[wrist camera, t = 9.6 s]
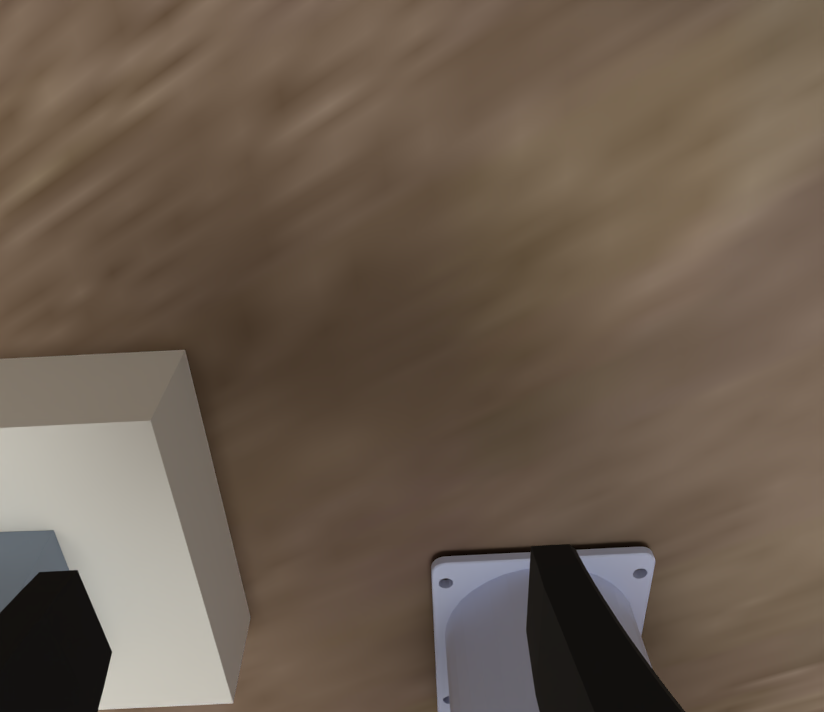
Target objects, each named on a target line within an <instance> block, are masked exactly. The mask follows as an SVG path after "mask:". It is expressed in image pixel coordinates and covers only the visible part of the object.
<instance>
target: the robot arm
mask: <svg viewBox="0 0 824 712" xmlns="http://www.w3.org/2000/svg"><path fill="white" fill-rule="evenodd" d="M654 566H655V557H654V555H653V552H652V551H651V550H650V549H649V548H647V547H620V548H600V549H581V550H576V549H575V548H573V547H572V546H571V545H570V544H567V545H548V546H531V552H521V553H501V554H481V555H461V556H444V557H439V558H437V559H435V560H434V561H433V563H432V565H431V576H432V598H433V620H434V641H435V663H436V685H437V706H438V712H685V711H684V710H683V709H682V707H681V706H680V705H679V704H678V702H677V701H676V700H675V698H674V697H673V696H672V695H671V693H670V692H669V691H668V689H667V688H666V687H665V685H664V684H663V683H662V681H661V680H660V679H659V677H658V676H657V675H656V673H655V672H654V671H653V669H652V666H651V663H650V660H649V657H648V655H647V652H646V649H645V646H644V643H643V640H642V637H641V636H642V630H643V625H644V620H645V614H646V609H647V604H648V598H649V593H650V588H651V582H652V577H653V572H654ZM637 569H639V570H637ZM445 578H448V579H447V580H443V579H445ZM111 655H112V650H111V648H110V646H109V643H108V641H107V638H106V636H105V634H104V631H103V629H102V627H101V624H100V622H99V620H98V617H97V615H96V612H95V610H94V608H93V605H92V603H91V601H90V598H89V596H88V594H87V591H86V589H85V587H84V584H83V582H82V579H81V577H80V575H79V572H78V570H69V571H49V572H39V573H38V574H37V575H36V576H35V577H34V578H33V579H32V580H31V581H30V582H29V583H28V584H27V585H26V586H25V587H24V588H23V589H22V590H21V591H20V592H19V593H18V594H17V595H16V596H15V598H14V599H13V600H12V601H11V602H10V603H9V604H8V605H7V606H6V607H5V608H4V609H3V610H2V611H1V612H0V712H98V708H99V704H100V700H101V696H102V693H103V689H104V685H105V680H106V676H107V672H108V668H109V663H110V659H111Z"/></svg>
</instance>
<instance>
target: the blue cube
mask: <svg viewBox="0 0 824 712" xmlns="http://www.w3.org/2000/svg"><path fill="white" fill-rule="evenodd" d="M49 571H69V568H68V566H67V563H66V560H65V558H64V555H63V553H62V550H61V548H60V545H59V543H58V540H57V537H56V535H55V532H54V530H47V531H15V532H0V612H1V611H2V610H3V609H4V608H5V607H6V606H7V605H8V604H9V603H10V602H11V601H12V600H13V599H14V598H15V596H16V595H17V594H18V593H19V592H20V591H21V590H22V589H23V588H24V587H25V586H26V585H27V584H28V583H29V582H30V581H31V580H32V579H33V578H34V577H35V576H36V575H37V574H38V573H39V572H49Z"/></svg>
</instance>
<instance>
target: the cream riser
mask: <svg viewBox="0 0 824 712" xmlns="http://www.w3.org/2000/svg"><path fill="white" fill-rule="evenodd" d="M47 530H54V532H55V535H56V537H57V540H58V543H59V545H60V548H61V550H62V553H63V555H64V558H65V560H66V563H67V566H68V568H69V570H78V572H79V575H80V577H81V579H82V582H83V584H84V587H85V589H86V591H87V594H88V596H89V598H90V601H91V603H92V605H93V608H94V610H95V612H96V615H97V617H98V620H99V622H100V624H101V627H102V629H103V631H104V634H105V636H106V638H107V641H108V643H109V646H110V648H111V650H112V655H111V659H110V663H109V668H108V672H107V676H106V680H105V685H104V689H103V693H102V696H101V700H100V704H99V708H98V710H103V709H124V708H145V707H166V706H187V705H207V704H228V703H233V701H234V697H235V692H236V687H237V682H238V677H239V672H240V667H241V662H242V657H243V652H244V648H245V643H246V638H247V633H248V628H249V623H250V618H251V617H250V613H249V609H248V604H247V600H246V596H245V592H244V588H243V584H242V580H241V576H240V572H239V568H238V564H237V560H236V555H235V551H234V547H233V543H232V539H231V535H230V531H229V527H228V523H227V519H226V515H225V511H224V507H223V502H222V498H221V494H220V490H219V486H218V482H217V478H216V474H215V470H214V466H213V462H212V458H211V453H210V449H209V445H208V441H207V437H206V433H205V429H204V425H203V421H202V417H201V413H200V409H199V404H198V400H197V396H196V392H195V388H194V384H193V380H192V376H191V372H190V368H189V364H188V360H187V355H186V351H185V350H169V351H149V352H129V353H109V354H89V355H68V356H48V357H28V358H8V359H0V532H15V531H47Z"/></svg>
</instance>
